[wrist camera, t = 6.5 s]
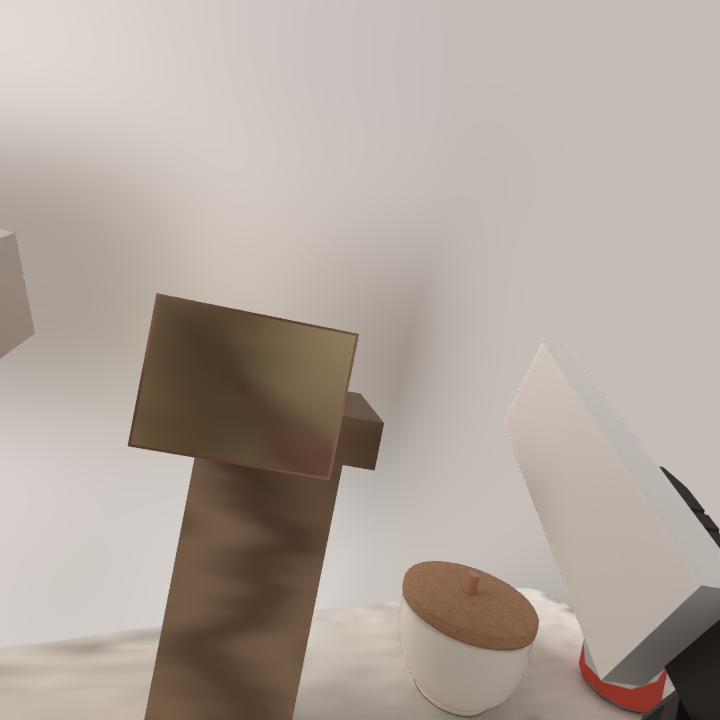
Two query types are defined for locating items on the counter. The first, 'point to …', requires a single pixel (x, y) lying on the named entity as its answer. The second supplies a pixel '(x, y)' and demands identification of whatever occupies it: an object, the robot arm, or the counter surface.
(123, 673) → the counter surface
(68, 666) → the counter surface
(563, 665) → the counter surface
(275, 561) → the walnut stand
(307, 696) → the counter surface
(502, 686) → the lidded jar
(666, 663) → the robot arm
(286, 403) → the tan wooden bar
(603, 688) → the beverage can
